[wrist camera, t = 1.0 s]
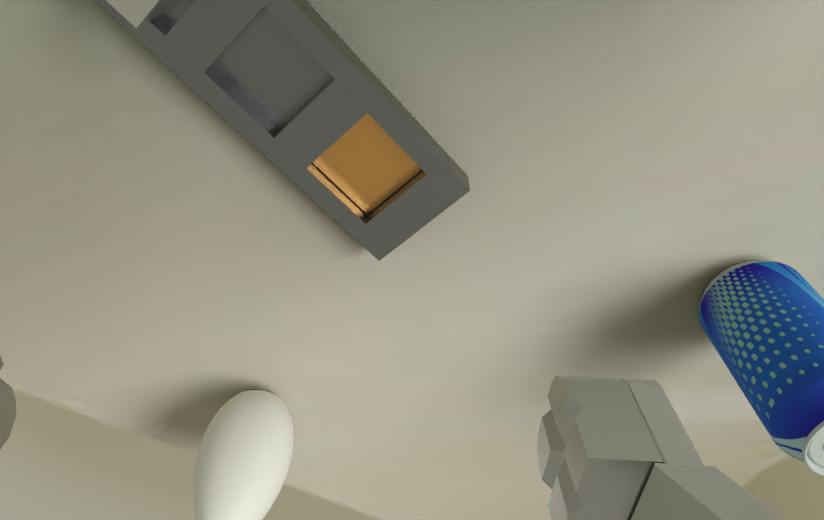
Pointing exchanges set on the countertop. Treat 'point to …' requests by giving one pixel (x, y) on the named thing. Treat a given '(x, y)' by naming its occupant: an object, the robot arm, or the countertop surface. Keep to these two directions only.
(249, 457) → the white teardrop vase
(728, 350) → the beer can
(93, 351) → the countertop surface
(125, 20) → the grey compartment tray
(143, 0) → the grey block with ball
